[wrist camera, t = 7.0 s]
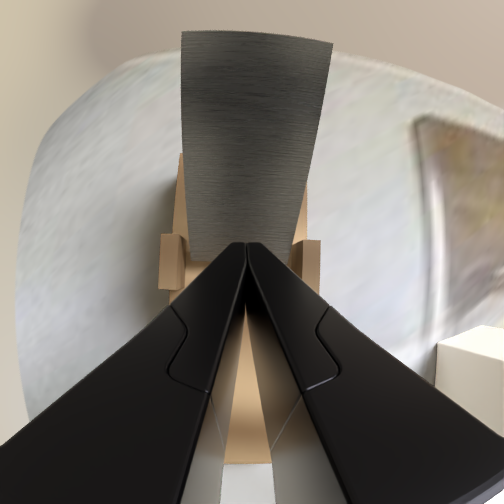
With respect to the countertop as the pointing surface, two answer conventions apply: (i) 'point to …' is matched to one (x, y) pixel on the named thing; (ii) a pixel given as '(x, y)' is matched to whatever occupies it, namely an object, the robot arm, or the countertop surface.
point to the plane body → (246, 387)
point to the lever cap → (248, 135)
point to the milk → (474, 373)
